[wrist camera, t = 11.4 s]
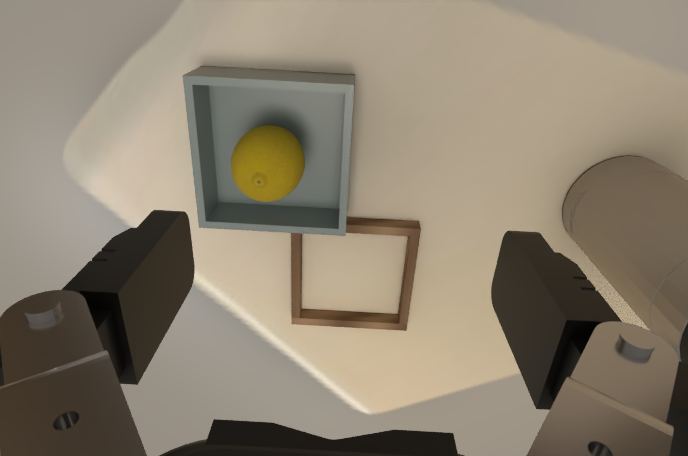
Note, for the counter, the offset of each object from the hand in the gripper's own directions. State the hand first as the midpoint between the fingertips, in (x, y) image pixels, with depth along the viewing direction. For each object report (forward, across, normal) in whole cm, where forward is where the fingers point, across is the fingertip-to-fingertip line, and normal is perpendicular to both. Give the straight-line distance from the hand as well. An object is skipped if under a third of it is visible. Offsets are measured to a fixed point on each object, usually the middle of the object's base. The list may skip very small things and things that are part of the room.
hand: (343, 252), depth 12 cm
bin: (+28, +6, +6) cm, 29 cm away
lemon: (+28, +6, +6) cm, 29 cm away
